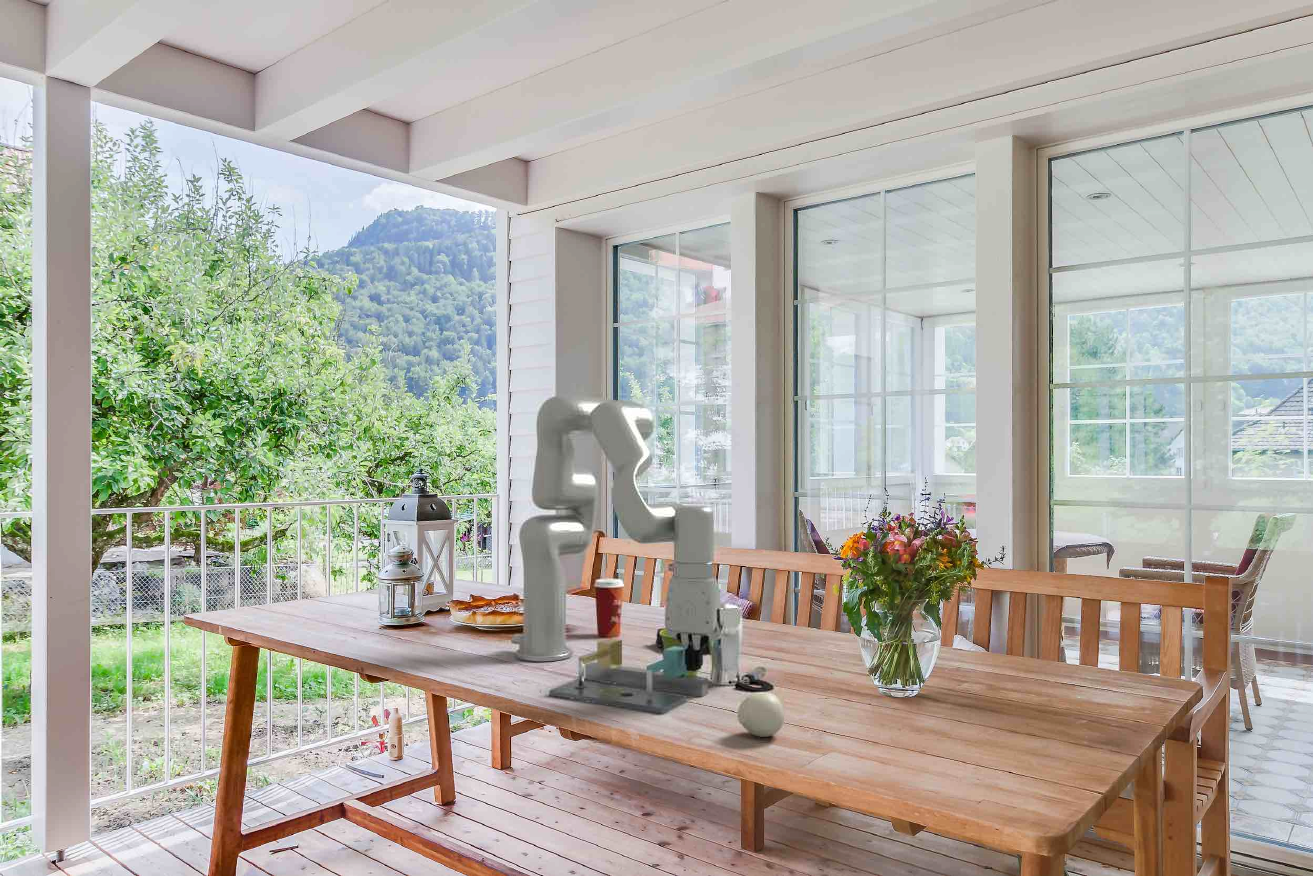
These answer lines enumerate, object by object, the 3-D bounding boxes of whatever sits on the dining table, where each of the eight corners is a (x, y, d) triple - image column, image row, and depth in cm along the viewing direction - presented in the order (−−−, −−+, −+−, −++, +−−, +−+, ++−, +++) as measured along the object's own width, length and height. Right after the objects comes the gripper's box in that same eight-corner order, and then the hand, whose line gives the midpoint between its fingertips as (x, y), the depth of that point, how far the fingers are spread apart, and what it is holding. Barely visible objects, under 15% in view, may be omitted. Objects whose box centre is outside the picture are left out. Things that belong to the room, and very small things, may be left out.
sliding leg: (640, 695, 150) (640, 659, 151) (674, 680, 161) (674, 646, 162) (655, 697, 149) (655, 660, 149) (687, 682, 160) (687, 647, 160)
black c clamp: (766, 696, 157) (766, 682, 157) (731, 691, 160) (730, 678, 160) (791, 678, 170) (791, 666, 170) (758, 674, 174) (758, 662, 174)
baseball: (734, 729, 135) (734, 687, 135) (779, 728, 136) (778, 687, 136) (741, 743, 128) (741, 699, 129) (788, 742, 129) (788, 698, 129)
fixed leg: (572, 685, 158) (573, 650, 158) (609, 671, 169) (609, 638, 169) (586, 687, 156) (586, 652, 156) (621, 672, 167) (622, 640, 167)
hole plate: (549, 695, 155) (549, 690, 155) (577, 685, 163) (577, 679, 163) (662, 714, 144) (662, 708, 144) (686, 701, 151) (686, 695, 151)
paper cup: (623, 638, 208) (623, 582, 209) (592, 638, 208) (592, 582, 209) (624, 632, 216) (624, 578, 217) (595, 632, 216) (595, 578, 217)
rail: (585, 679, 167) (585, 664, 167) (591, 677, 169) (592, 662, 170) (702, 696, 155) (702, 680, 155) (707, 694, 157) (707, 677, 157)
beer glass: (746, 679, 168) (746, 604, 168) (737, 687, 161) (737, 609, 162) (712, 676, 170) (712, 602, 171) (703, 684, 164) (703, 607, 164)
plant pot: (701, 681, 166) (701, 637, 166) (655, 679, 168) (655, 635, 168) (708, 670, 175) (708, 628, 175) (664, 668, 177) (664, 627, 177)
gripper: (649, 571, 158) (649, 669, 157) (721, 576, 151) (721, 679, 150) (668, 567, 165) (668, 661, 164) (738, 571, 157) (738, 670, 157)
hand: (693, 669), depth 157 cm, fingers closed
